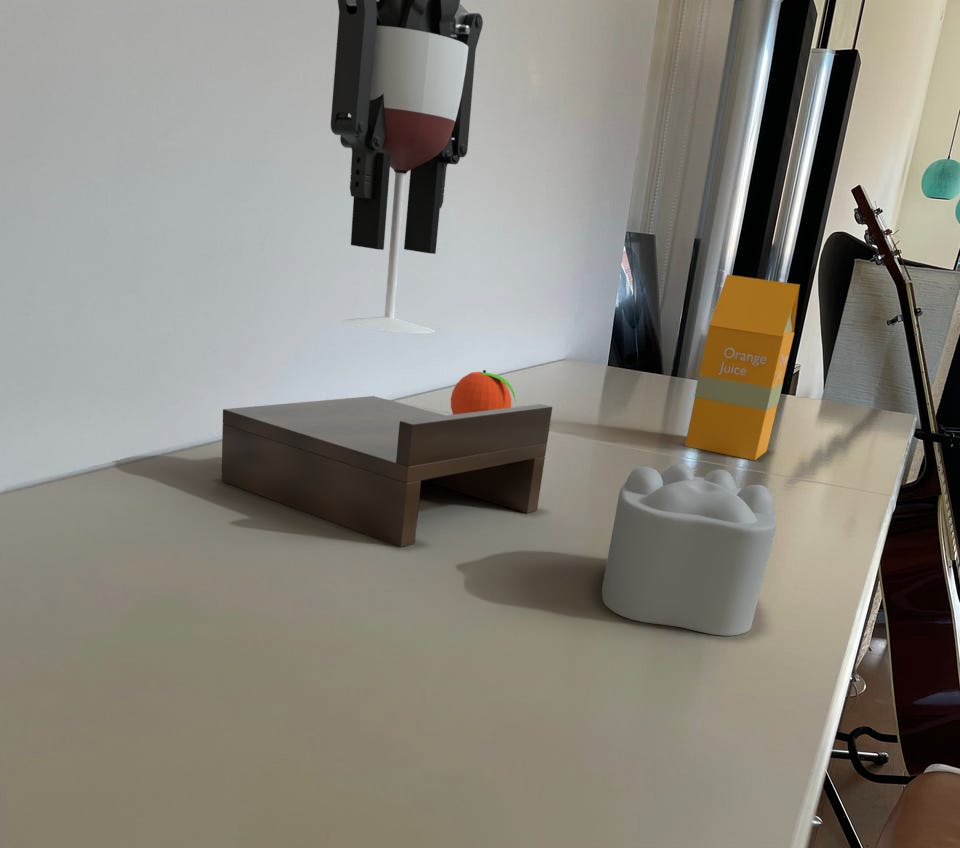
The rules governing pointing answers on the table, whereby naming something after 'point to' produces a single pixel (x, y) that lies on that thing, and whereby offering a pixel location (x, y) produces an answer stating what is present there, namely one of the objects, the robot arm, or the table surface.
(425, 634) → the table surface
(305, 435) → the shelf
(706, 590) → the lumpy-topped squat cylinder
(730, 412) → the orange juice
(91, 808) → the table surface
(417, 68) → the wineglass
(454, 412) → the clementine
